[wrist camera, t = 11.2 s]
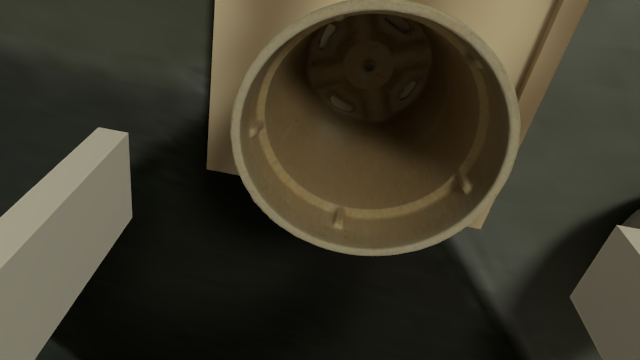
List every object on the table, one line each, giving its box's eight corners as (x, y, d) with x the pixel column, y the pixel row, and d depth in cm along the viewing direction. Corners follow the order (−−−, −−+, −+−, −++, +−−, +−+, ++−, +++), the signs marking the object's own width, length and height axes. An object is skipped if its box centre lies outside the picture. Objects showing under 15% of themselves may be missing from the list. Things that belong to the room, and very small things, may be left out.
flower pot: (500, -25, 20) (574, 29, 13) (439, 161, 25) (467, 275, 18) (283, -61, 20) (235, -27, 13) (267, 132, 25) (226, 235, 18)
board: (213, 156, 28) (203, 174, 26) (233, -173, 19) (219, -178, 18) (473, 207, 28) (480, 229, 27) (608, -93, 20) (631, -90, 18)
